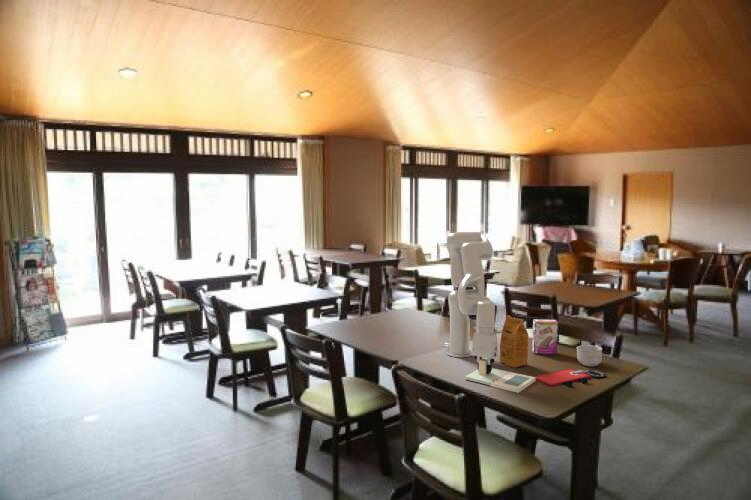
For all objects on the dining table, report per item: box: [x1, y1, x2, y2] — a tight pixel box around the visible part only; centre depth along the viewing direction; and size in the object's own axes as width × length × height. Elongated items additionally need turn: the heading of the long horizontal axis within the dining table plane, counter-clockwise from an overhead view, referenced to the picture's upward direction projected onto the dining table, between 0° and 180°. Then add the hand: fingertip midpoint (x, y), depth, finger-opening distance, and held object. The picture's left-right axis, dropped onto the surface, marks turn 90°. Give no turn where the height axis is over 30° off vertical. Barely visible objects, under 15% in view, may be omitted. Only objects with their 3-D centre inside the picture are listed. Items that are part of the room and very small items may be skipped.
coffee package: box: [499, 314, 529, 369], centre depth 238 cm, size 10×12×22 cm
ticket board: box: [489, 371, 537, 394], centre depth 214 cm, size 12×17×2 cm
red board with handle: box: [532, 368, 607, 388], centre depth 220 cm, size 30×3×15 cm
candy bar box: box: [531, 318, 559, 356], centre depth 255 cm, size 11×5×16 cm, turn 84°
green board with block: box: [464, 357, 509, 386], centre depth 221 cm, size 11×17×7 cm
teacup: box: [576, 344, 603, 367], centre depth 238 cm, size 14×11×8 cm
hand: (484, 371), depth 222 cm, fingers closed on green board with block, 3 cm apart
